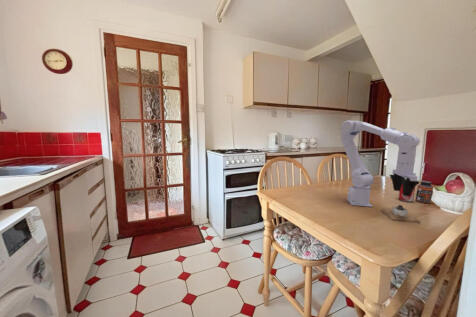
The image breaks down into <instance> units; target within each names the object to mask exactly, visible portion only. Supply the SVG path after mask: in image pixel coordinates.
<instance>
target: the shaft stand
mask: <svg viewBox="0 0 476 317" xmlns="http://www.w3.org/2000/svg"><path fill="white" fill-rule="evenodd" d="M396 207H397V209H399V210H403V208H404V206H403V205H402V204H398V205H397V206H396ZM380 211H381V212H382V213H383V214H384V215H385V216H387V217H388V218H389V219H390V220H391V221H397V222H407V223H418V224H421V221H420V220H419V219H417V218H416V217H415V216H413V215H412V214H410V213H407V217H406V218H402V217H397V216H395V215H393V214H392V210H391V209H390V210H389V209H388V210H387V209H380Z"/></svg>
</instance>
